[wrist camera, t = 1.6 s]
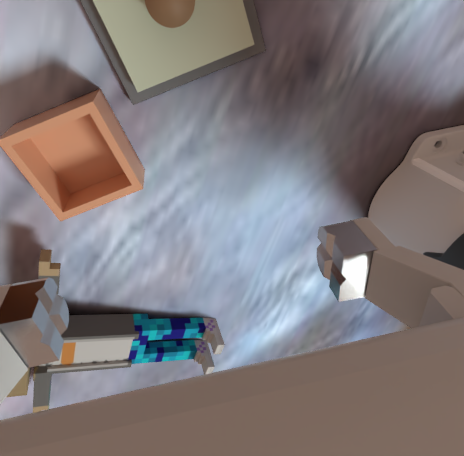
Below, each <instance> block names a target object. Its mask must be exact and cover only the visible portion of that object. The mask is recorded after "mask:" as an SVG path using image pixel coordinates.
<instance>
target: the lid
mask: <svg viewBox="0 0 464 456" xmlns="http://www.w3.org/2000/svg"><path fill="white" fill-rule="evenodd" d="M93 2H94V4H95V6H96V8H97V10H98V12H99V14H100V16H101V18H102V20H103V22H104V25H105V27H106V29H107V31H108V33H109V35H110V37H111V39H112V41H113V43H114V45H115V47H116V49H117V51H118V53H119V55H120V57H121V59H122V61H123V63H124V65H125V67H126V69H127V72H128V74H129V76H130V78H131V80H132V82H133V84H134V86H135V88H136V90H137V92H140V91H143V90H145V89H148V88H150V87H152V86H155V85H157V84H160V83H162V82H165V81H167V80H169V79H172V78H174V77H177V76H179V75H182V74H184V73H187V72H189V71H191V70H194V69H196V68H199V67H201V66H204V65H206V64H208V63H211V62H213V61H216V60H218V59H221V58H223V57H225V56H228V55H230V54H233V53H235V52H238V51H240V50H243V49H245V48H247V47H250V46H252V45H254V41H253V37H252V33H251V30H250V26H249V22H248V18H247V15H246V11H245V7H244V4H243V0H93Z"/></svg>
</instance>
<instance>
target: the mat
mask: <svg viewBox="0 0 464 456" xmlns="http://www.w3.org/2000/svg"><path fill="white" fill-rule="evenodd" d="M80 1H81V3H82V5H83V7H84V9H85V11H86V13H87V15H88V17H89V19H90V21H91V23H92V25H93V27H94V29H95V31H96V33H97V35H98V36H99V38H100V40H101V42H102V44H103V46H104V48H105V50H106V52H107V54H108V56H109V58H110V60H111V62H112V64H113V66H114V68H115V70H116V72H117V74H118V76H119V78H120V80H121V82H122V84H123V86H124V88H125V90H126V92H127V94H128V96H129V98H130V100H131V102H132V103H133V105H134V104H137V103H139V102H142V101H144V100H147V99H149V98H151V97H154V96H156V95H159V94H161V93H164V92H166V91H169V90H171V89H173V88H176V87H178V86H181V85H183V84H186V83H188V82H191V81H193V80H195V79H198V78H200V77H203V76H205V75H208V74H210V73H213V72H215V71H217V70H220V69H222V68H225V67H227V66H230V65H232V64H235V63H237V62H239V61H242V60H244V59H247V58H249V57H252V56H254V55H257V54H259V53H261V52H264V51H266V49H265V45H264V41H263V37H262V33H261V29H260V25H259V21H258V17H257V13H256V9H255V5H254V1H253V0H243V4H244V7H245V11H246V15H247V18H248V22H249V26H250V30H251V33H252V37H253V41H254V45H252V46H250V47H247V48H245V49H243V50H240V51H238V52H235V53H233V54H230V55H228V56H225V57H223V58H221V59H218V60H216V61H213V62H211V63H208V64H206V65H204V66H201V67H199V68H196V69H194V70H191V71H189V72H187V73H184V74H182V75H179V76H177V77H174V78H172V79H169V80H167V81H165V82H162V83H160V84H157V85H155V86H152V87H150V88H148V89H145V90H143V91H140V92H137V90H136V88H135V86H134V84H133V82H132V80H131V78H130V76H129V74H128V72H127V69H126V67H125V65H124V63H123V61H122V59H121V57H120V55H119V53H118V51H117V49H116V47H115V45H114V43H113V41H112V39H111V37H110V35H109V33H108V31H107V29H106V27H105V25H104V22H103V20H102V18H101V16H100V14H99V12H98V10H97V8H96V6H95V4H94V2H93V0H80Z"/></svg>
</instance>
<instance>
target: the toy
mask: <svg viewBox="0 0 464 456" xmlns="http://www.w3.org/2000/svg"><path fill="white" fill-rule="evenodd" d="M60 265H61V264H60V263H51V250H44V249H41V253H40V259H39V275H38V279H43V278H52V279H53V280H54V281H55V283H56V285H57V286H58V288H57V292H56V294H58V290H59V277H60ZM61 337H62V338H63V340H64V343H63V347H62V351H61V355H60V359H59V361H55V362H51V363H47V364H42V365H38V366H34V373H33V381H34V398H33V413H35V412H40V411H41V410H47V409H49V400H50V389H51V376H52V374H53V373H65V372H77V371H89V370H101V369H113V368H125V367H131V364H136V363H148V362H161V361H173V360H186V359H194V362H196V361H198V364H202V368H203V372H204V375H205V374H210V373H212V371H213V369H214V367H215V366H214V363H213V360H212V357H211V353H210V350H209V347H208V343H211V346H212V349H213V353H214V354H221V352H222V349H223V347H224V345H225V344H224V342H223V339H222V336H221V333H220V330H219V327H218V324H217V321H216V319H212V318H169V319H148V314H107V315H69V323H68V327H67V329H66V330H65V331H64V332H63V333H62V335H61ZM201 337H202V338H203V340H179V341H162V342H147V340H164V339H182V338H201ZM205 340H206V341H205ZM30 371H31V367H30V368H28V371H27V372H26V373H25V374H24V376H23V377H22V378H21V379H20V380H19V382H18V383H17V384H16V385H15V387H14V388H13V389H12V390H11V392H10V393H9V394H8V395H7V397H12V396H22V395H27V391H28V384H29V377H30Z"/></svg>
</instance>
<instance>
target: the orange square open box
mask: <svg viewBox="0 0 464 456" xmlns="http://www.w3.org/2000/svg"><path fill="white" fill-rule="evenodd" d="M0 146H1V147H2V149H3V150H4V151H5V152H6V154H7V155H8V156H9V157H10V159H11V160H12V161H13V162H14V164H15V165H16V166H17V168H18V169H19V170H20V171H21V173H22V174H23V175H24V176H25V178H26V179H27V180H28V181H29V183H30V184H31V185H32V186H33V188H34V189H35V190H36V191H37V193H38V194H39V195H40V196H41V198H42V199H43V200H44V201H45V203H46V204H47V205H48V206H49V208H50V209H51V210H52V211H53V213H54V214H55V215H56V217H57V218H58V219H59V220H60V221H63V220H65V219H68V218H70V217H73V216H75V215H78V214H80V213H83V212H85V211H88V210H91V209H93V208H96V207H98V206H101V205H103V204H106V203H108V202H111V201H113V200H116V199H118V198H121V197H123V196H126V195H129V194H131V193H134V192H136V191H139V190H141V189H143V184H144V172H145V169H144V167H143V165H142V164H141V162H140V160H139V158H138V156H137V154H136V153H135V151H134V149H133V147H132V145H131V144H130V142H129V140H128V138H127V136H126V134H125V133H124V131H123V129H122V127H121V125H120V123H119V122H118V120H117V118H116V116H115V114H114V113H113V111H112V109H111V107H110V105H109V103H108V102H107V100H106V98H105V96H104V94H103V93H102V91H101V89H98V90H95V91H93V92H91V93H88V94H86V95H83V96H81V97H79V98H76V99H74V100H71V101H69V102H66V103H64V104H62V105H59V106H57V107H54V108H52V109H50V110H47V111H45V112H42V113H40V114H37V115H35V116H33V117H30V118H28V119H25V120H23V121H21V122H18V123H16V124H14V125H13V126H12V127H11V128H10V129H9V130H8V131H7V132H5V133H4V134H3V135H2V136H1V137H0Z"/></svg>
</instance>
